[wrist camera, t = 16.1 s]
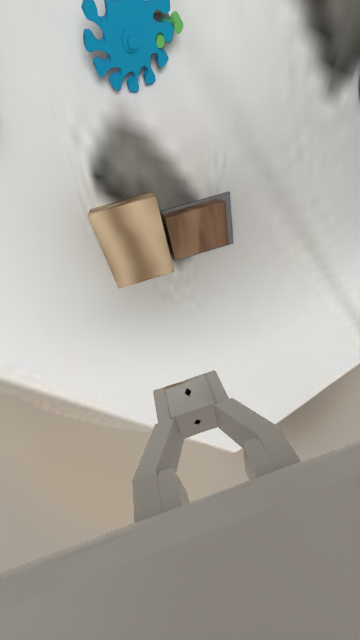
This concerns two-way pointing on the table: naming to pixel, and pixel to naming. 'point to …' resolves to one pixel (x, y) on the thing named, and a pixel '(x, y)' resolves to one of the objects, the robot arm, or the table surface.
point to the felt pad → (221, 196)
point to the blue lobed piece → (131, 37)
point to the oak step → (132, 239)
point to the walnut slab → (197, 228)
